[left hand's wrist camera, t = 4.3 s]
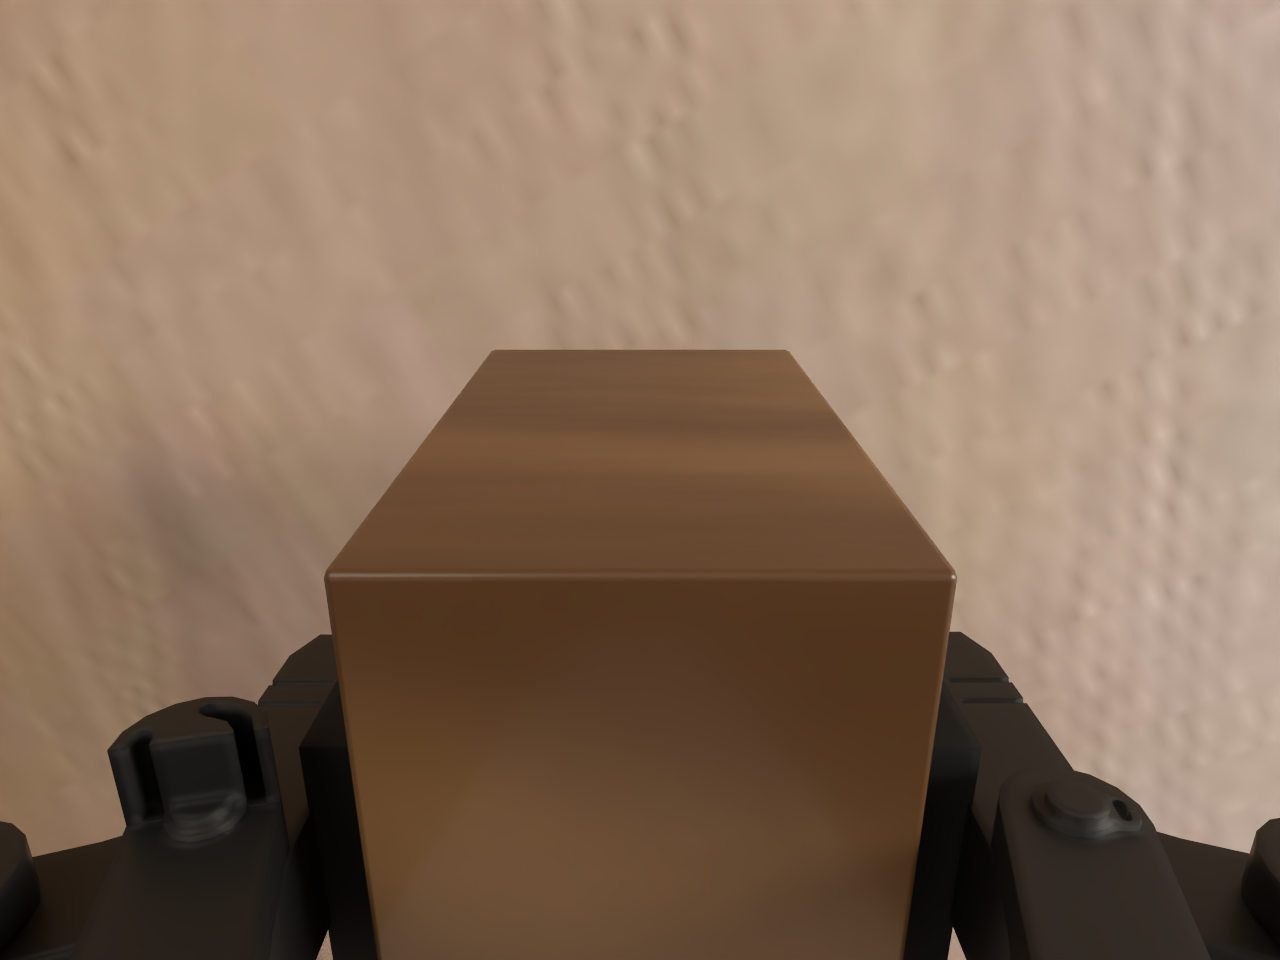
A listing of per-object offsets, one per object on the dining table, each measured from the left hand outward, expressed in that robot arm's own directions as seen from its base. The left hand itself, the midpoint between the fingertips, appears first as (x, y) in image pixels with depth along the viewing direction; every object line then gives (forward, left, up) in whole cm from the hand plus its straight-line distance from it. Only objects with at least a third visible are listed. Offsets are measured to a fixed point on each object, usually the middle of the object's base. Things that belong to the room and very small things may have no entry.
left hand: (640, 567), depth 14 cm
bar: (+9, 0, -1) cm, 9 cm away
